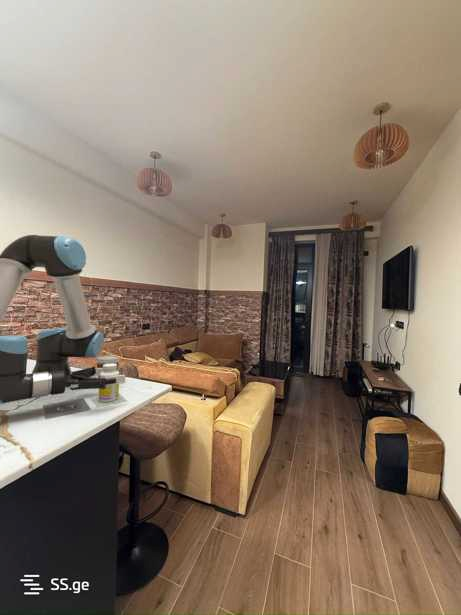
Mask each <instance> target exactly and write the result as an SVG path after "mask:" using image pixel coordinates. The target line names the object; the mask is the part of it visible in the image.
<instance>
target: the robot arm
mask: <svg viewBox="0 0 461 615" xmlns="http://www.w3.org/2000/svg"><path fill="white" fill-rule="evenodd" d="M86 264H87V255H86V250H85V249H84V246H83V245H82V243H80V242H79V241H78V240H77V239H75V238H72V237H65V236H59V235H58V236H56V235H38V234H28V235H23V236H21V237H19V238H17V239H15V240H14V241H12V242H11V243H10V244H9V245H7V246H6V247H4V249H3V250H2V251H1V253H0V324H1V323H2V321H3V319H4V317H5V315H6V313H7V311H8V309H9V307H10V305H11V304H12V302H13V299H14V298H15V296H16V294H17V292H18V290H19V288H20V286H21V284H22V283H23V281H24V279H25V277H26V276H29V275H30V274H31V273H32V271H33V270H34V269H35V268H44V270H45V273H46V275H47V276H48V277H49V278H51V279H53V283H54V287H55V290H56V293H57V296H58V300H59V303H60V306H61V309H62V313H63V316H64V320H65V324H66V325H67V326H66V327H59V328H49V329H48V328H47V329H42V330H40V331H39V332H38V333H37V338H36V356H35V358H36V360H35V361H36V362H35V366H34V367H33V370H32V372H31V373H27V366H28V353H29V348H28V344H29V343H28V342H29V341H28V338H27V336H25V335H18V334H17V335H7V334H6V335H0V405H3V404H5V403H6V404H8V403H12V402H17V401H23V400H30V399H34V398H35V399H36V400H39V399H40V398H42V397H48V396H49V394H50V395H51V396H55V395H61V394H62V395H63V394H64V393H65V391H66V388H70V391H75V390H97V389H98V390H99V389H105V388H106V386H107V385H113V384H119V385H120V384H125V383H126V374H119V376H111V377H105V378H98V376H100V373H101V372H103V368H96V366H92V367H88V368H84V369H78V370H75V371H72V370H71V366H70V364H69V358H80V359H81V358H82V359H88V358H89V359H92V358H97V357H99V354H100V353H101V351H102V350H103V347H104V342H105V336H104V334H103V333H102V332H100V331H97V328H96V326H95V325H94V324H92V323H91V319H90V315H89V312H88V308H87V302H86V299H85V294H84V291H83V287H82V286H83V285H82V283H81V279H80V278H81V277H80V275H81V273H82V272H83V269H84V268H85V266H86ZM93 376H95V377H93Z"/></svg>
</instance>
